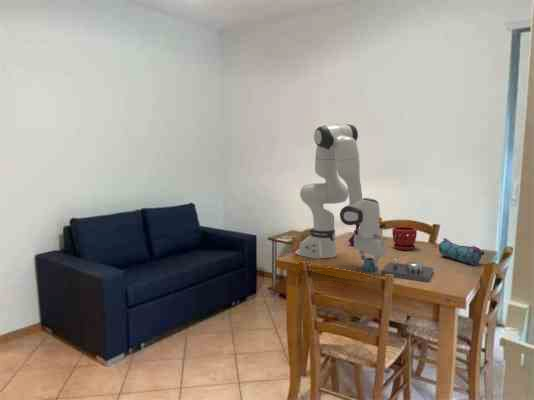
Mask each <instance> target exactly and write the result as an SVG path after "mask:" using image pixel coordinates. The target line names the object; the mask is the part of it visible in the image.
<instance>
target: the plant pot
mask: <svg viewBox="0 0 534 400" xmlns="http://www.w3.org/2000/svg"><path fill="white" fill-rule="evenodd" d="M417 231H418V230H417V228H416V227H410V226H409V227H408V226H396V227H393V228H392V240H393V243H394V244H393V247H394V248H395V249H397V250H402V251H412V250H414V249H415V248H416V245H415V243H416V239H417V234H418V233H417Z"/></svg>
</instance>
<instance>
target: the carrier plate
mask: <svg viewBox="0 0 534 400" xmlns="http://www.w3.org/2000/svg"><path fill="white" fill-rule="evenodd" d="M398 260H399V259H398V258H393V261H390V262H388V263H387V264H386V265H385V266H384V267H383V268H382V269H381V271H380V275H381V276H385V274H393V275H394V276H395V277H394V278H399V279H406V280H413V281H419V282H425V283H428V282H429V281H430V279H431V278H432V276H433V274H434V267H430V266H429V267H428V266H425V264H424V263H423V262H422V263H421V262H419V261H406V262H405V263H400V262H398Z"/></svg>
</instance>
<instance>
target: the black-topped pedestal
mask: <svg viewBox="0 0 534 400" xmlns="http://www.w3.org/2000/svg"><path fill="white" fill-rule="evenodd" d="M385 227H386V223H381V222H379V236H382V229H383V228H385Z"/></svg>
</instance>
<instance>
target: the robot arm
mask: <svg viewBox="0 0 534 400" xmlns="http://www.w3.org/2000/svg"><path fill="white" fill-rule="evenodd" d="M313 134H314V135H313V139H314V143H315V144H316V150H315V163H314V172H315V174H316V175H317V176H318V177H320V178H323V179H324V180H325V182H324V183H307V184H304V185H303V186H302V187H301V189H300V191H299V196H300V199H301V201H302V203H304V204H305V205H306V206H307V207H309V209H310V211H311V213H312V219H313V222H312V223H313V227H312V228H311V229H310V230H309V232H308V233H309V234H310V235H308V236H307V237H306V238H304V239H303V240H302V241H301V242H300V243H299V244H300V245H299V249H297V250H295V253H294V254H295V255H296V254H297V256H301V257H307V258H310V259H311V258H312V259H317V260H319V259H330V258H335V257H337V255H338V254H337V251H336V243H335V239H336V229H335V216H334V213H333V212H331V211H330V210H328V209H326V208H325V207H324V205H325V204H326V205H327V204H328V205H331V204H333V205H336V204H341V203H344V202H346V201H347V200H348V199H349V203H348V205H346V206H343V207H342V208H341V210H340V212H339V218H340V221H341V223H343V224H344V225H347V226H356V224H359V225H360V227H359V229H356V228H355V229H354V230H353V234H355V235H354V246H353V247H354V249H356V250H358V252H359V255H360V260H362V261H364V259H365V258H367V257H366V256H365V253H366V254H370V255H373V257H374V260H373V264H375V265H376V266H378V264H379V260H380V258H381V257H386V255H387V248H386V247H387V246H386V241H385V239H384V238H383V236H382V235H381V236H379V223H380V218H381V217H380V216H381V209H380V204H379V202H378V201H377V200H376V199H373V198H369V197H364V198H363V194H362V185H361V173H360V172H361V170H360V169H361V168H360V167H361V166H360V156H359V149H358V144H357V140H358V138H359V133H358V129H357V127H356V126H355V125H353V124H347V123H346V124H341V123H340V124H339V123H337V124H330V125H322V126H319V127H317V128H316V129H315V131H314V133H313ZM339 177H340V178H339ZM341 179H342V180H343V181H344V182H345V183H343V182H342V181H341ZM346 185H347V186H346Z"/></svg>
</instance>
